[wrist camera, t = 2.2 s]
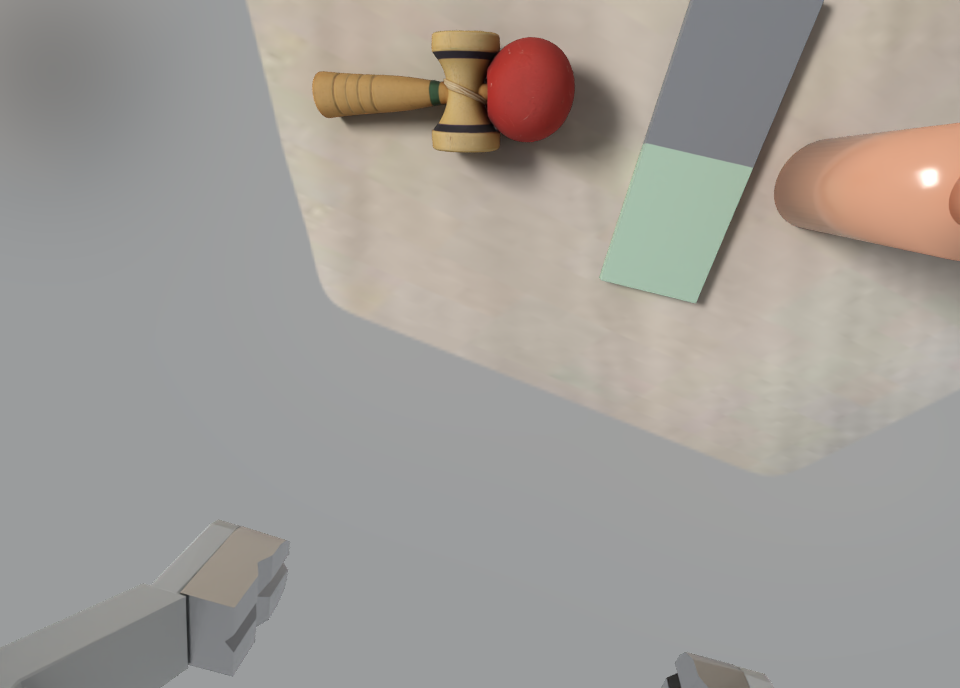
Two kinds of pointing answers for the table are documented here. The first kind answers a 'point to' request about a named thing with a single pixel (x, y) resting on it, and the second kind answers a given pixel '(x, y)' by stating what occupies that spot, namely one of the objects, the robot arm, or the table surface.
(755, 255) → the table surface
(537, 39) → the kendama
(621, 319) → the table surface
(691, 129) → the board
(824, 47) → the table surface
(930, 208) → the bottle
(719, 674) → the robot arm
